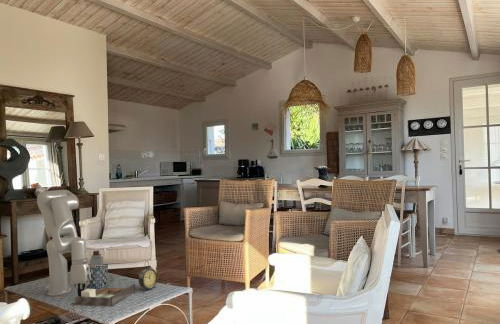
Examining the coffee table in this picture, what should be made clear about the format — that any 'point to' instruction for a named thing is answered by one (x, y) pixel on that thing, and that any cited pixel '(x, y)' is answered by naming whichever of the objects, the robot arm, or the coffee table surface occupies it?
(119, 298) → the box
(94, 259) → the perfume bottle
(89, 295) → the block
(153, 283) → the alarm clock
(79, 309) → the coffee table surface
